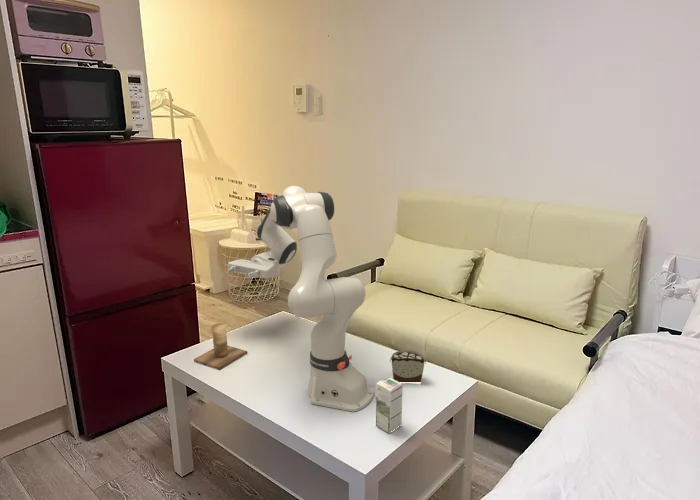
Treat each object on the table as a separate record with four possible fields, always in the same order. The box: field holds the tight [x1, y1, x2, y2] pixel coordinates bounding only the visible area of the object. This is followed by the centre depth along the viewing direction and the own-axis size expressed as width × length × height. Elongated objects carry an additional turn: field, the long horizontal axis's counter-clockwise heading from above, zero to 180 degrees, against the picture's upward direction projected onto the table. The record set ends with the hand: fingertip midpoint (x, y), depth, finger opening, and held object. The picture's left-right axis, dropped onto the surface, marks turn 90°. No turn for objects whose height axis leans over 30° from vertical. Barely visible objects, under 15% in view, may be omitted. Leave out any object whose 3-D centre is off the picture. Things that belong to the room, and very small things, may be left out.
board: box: [193, 344, 248, 371], centre depth 192 cm, size 13×15×1 cm
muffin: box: [389, 349, 427, 383], centre depth 176 cm, size 12×6×10 cm, turn 84°
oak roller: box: [211, 322, 228, 358], centre depth 191 cm, size 5×5×12 cm
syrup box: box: [375, 376, 404, 434], centre depth 149 cm, size 6×6×14 cm
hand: (238, 274), depth 195 cm, fingers open, 8 cm apart
